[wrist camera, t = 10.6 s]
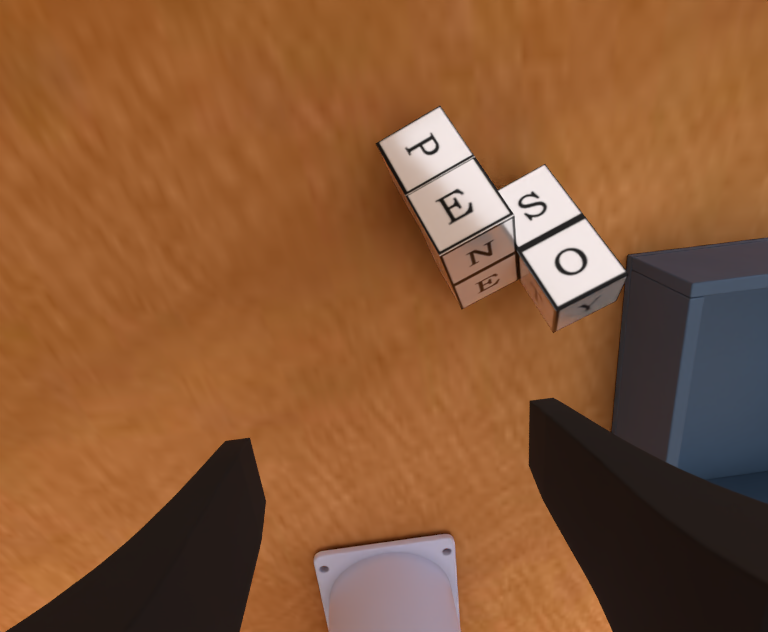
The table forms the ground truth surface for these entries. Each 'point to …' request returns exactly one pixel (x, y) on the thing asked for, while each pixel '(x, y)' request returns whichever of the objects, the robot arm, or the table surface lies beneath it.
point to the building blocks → (499, 226)
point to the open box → (698, 362)
